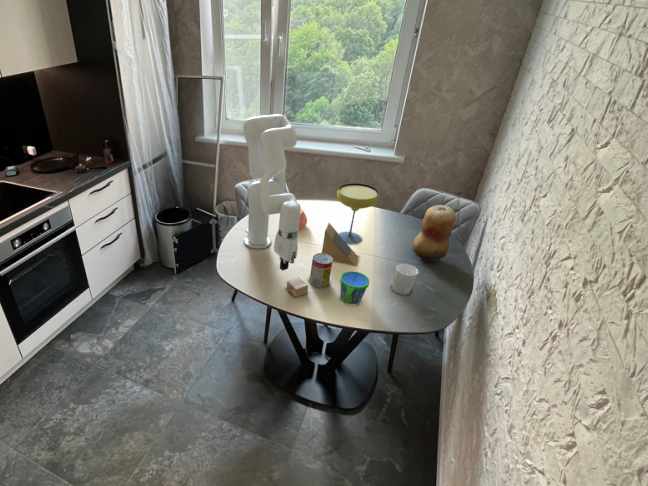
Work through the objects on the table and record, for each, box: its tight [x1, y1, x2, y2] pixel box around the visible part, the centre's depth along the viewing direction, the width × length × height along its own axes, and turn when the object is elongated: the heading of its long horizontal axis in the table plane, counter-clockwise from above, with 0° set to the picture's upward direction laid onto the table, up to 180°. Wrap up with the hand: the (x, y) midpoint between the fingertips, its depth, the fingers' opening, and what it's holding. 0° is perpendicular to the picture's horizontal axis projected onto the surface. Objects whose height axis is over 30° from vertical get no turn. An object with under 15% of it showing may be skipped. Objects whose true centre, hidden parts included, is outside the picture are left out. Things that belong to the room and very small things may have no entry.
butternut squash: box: [412, 204, 457, 261], centre depth 172 cm, size 14×13×25 cm
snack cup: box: [339, 270, 370, 305], centre depth 155 cm, size 16×10×10 cm
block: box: [285, 276, 309, 298], centre depth 163 cm, size 6×6×4 cm
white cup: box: [391, 263, 419, 296], centre depth 159 cm, size 8×8×10 cm
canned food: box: [309, 252, 333, 288], centre depth 165 cm, size 8×8×12 cm
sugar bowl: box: [298, 208, 308, 230], centre depth 206 cm, size 12×14×10 cm
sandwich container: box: [321, 222, 359, 266], centre depth 178 cm, size 9×15×15 cm, turn 65°
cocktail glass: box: [336, 183, 380, 245], centre depth 189 cm, size 18×18×25 cm
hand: (283, 268), depth 169 cm, fingers closed
